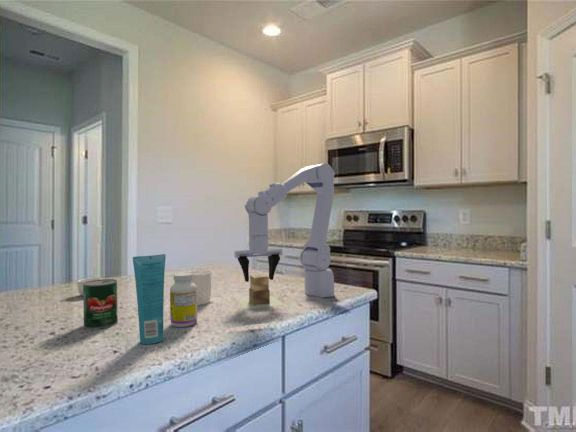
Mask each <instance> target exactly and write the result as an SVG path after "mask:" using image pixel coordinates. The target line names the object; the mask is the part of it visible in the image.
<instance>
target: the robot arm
mask: <svg viewBox="0 0 576 432" xmlns="http://www.w3.org/2000/svg"><path fill="white" fill-rule="evenodd" d="M335 174H336V173H335V171H334V169H333V167H332V166H331V165H330V164H329V163H326V162H323V163H320V164H314V165H307V166H305V167H302V168H300V169H299V170H298V171H297V172H295V173H294V174H293V175H291V176H290V177H289V178H287V179H285V181H283V182H282V183H280V182H271V183H269V187H267V188H265V189H264V190H260V191H258V192H257V195H256V196H251V197H249V198H248V199H247V201H246V204H245V205H244V209H245V211H246V213H247V214H248V238H249V239H248V242H249V243H248V245H249V246H248V249H243V250H234V258H235V259H237V261H238V264H239V265H240V268H241V270H242V273H243V278H244V281H245V282H246V283H250V273H249V267H250V259H249V258H252V257H255V258H256V257H267V260H268V261H267V262H268V277H269V281H270V280H271V281H274V277H275V272H276V269H277V266H278V264H279V262H280V260H281V256H283V249H282V248H269V220H268V218H269V217H268V215H269V213H270V212H271V210H272V208H273V207H275V206H276V205H278V204H280V202H282V201H283V200H285V199H287V197H288V193H289V192H291V191H292V190H294V189H295V188H297V187H299V186H300V185H302V184H303V183H305V184H307V186H309V187H310V188H311V189H312V190H314V191H315V193H316V195H317V197H316V202H315V207H314V213H313V219H312V225H311V228H310V229H311V230H310V236H309V239H308V240H307V241H306V242H305V244H304V245H303V249H302V251H301V253H300V256H299V261H300V263H301V265H302V266H303V269H304V294H305V295H308V296H317V297H320V298H331V297H335V296H336V294H335V275H334V272H333V270H332V269H331V268H329V266H330V264H331V259H332V258H331V247H330V246H329V245H328V243H327V238H328V237H327V236H328V232H329V231H328V230H329V225H330V218H331V214H332V213H331V212H332V208H333V202H334V198H335V197H334V196H335V184H334V180H335Z"/></svg>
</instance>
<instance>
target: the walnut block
mask: <svg viewBox="0 0 576 432" xmlns="http://www.w3.org/2000/svg"><path fill="white" fill-rule="evenodd" d="M270 292H271V291H270V289H269V290H262V291H253V290H252V289H250V287H249V288H248V297H249V298H248V299H249V301H250V302H251V303H252V304H253V305H259V304H269V303H270V296H271V295H270Z"/></svg>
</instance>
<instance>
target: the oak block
mask: <svg viewBox="0 0 576 432" xmlns="http://www.w3.org/2000/svg"><path fill="white" fill-rule="evenodd" d="M269 282H270V279H269V275H266V274H264V273H263V274H262V273H261V274H251V275H250V274H249V288H250V289H252V290H253V291H262V290H270V286H269V285H270V284H269Z"/></svg>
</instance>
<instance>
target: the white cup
mask: <svg viewBox="0 0 576 432" xmlns="http://www.w3.org/2000/svg"><path fill="white" fill-rule="evenodd" d="M186 273H192V274H193V278H192V283H194V284H196V286H197V306H199V305H205V304H209V303H210V302H211V295H212V271H211V270H191V271H188V272H186Z"/></svg>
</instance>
